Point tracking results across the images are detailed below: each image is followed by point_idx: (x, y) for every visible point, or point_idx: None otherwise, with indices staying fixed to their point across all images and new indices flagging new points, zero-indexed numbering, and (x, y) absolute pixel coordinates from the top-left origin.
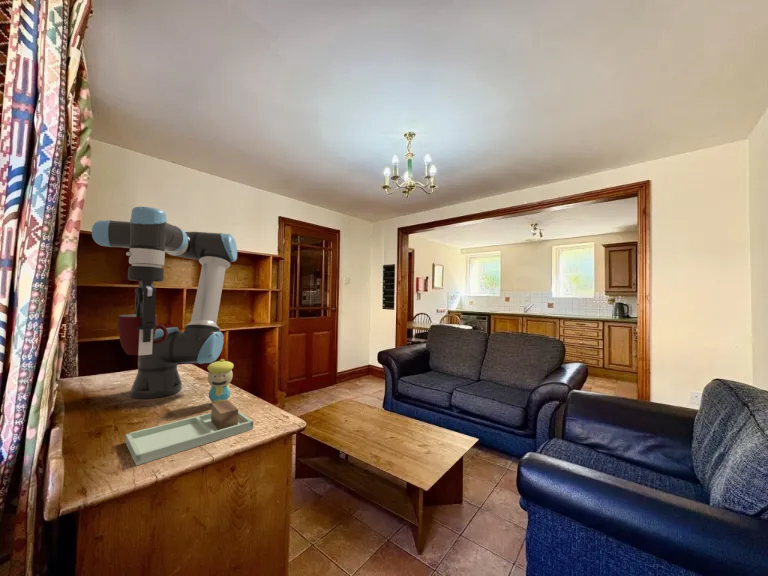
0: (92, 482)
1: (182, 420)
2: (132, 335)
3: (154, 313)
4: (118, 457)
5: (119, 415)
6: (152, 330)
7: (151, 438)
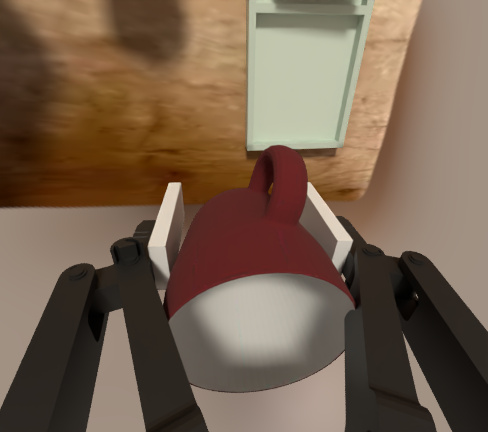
0: (334, 184)
1: (252, 47)
2: (301, 277)
3: (473, 317)
4: None
5: (90, 140)
6: (348, 237)
7: (273, 113)
